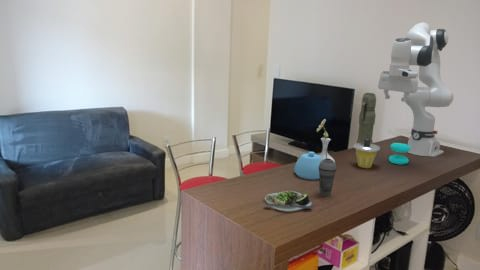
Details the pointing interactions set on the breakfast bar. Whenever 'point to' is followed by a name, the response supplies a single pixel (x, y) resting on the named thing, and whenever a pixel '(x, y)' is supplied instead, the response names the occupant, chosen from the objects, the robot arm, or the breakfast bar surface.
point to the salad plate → (288, 201)
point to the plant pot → (365, 158)
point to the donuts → (402, 149)
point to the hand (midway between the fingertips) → (395, 100)
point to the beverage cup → (326, 176)
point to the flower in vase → (324, 143)
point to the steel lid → (367, 146)
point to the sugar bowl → (308, 166)
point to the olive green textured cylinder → (367, 117)
